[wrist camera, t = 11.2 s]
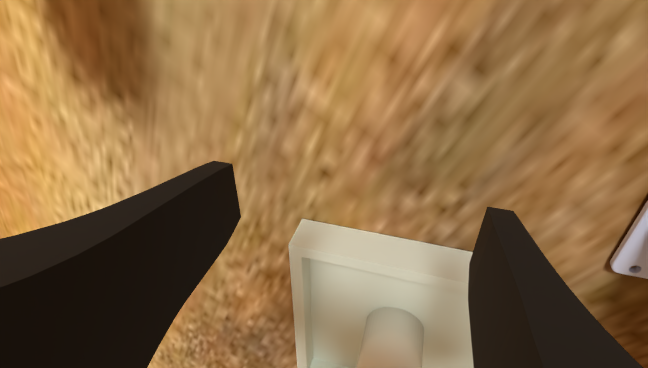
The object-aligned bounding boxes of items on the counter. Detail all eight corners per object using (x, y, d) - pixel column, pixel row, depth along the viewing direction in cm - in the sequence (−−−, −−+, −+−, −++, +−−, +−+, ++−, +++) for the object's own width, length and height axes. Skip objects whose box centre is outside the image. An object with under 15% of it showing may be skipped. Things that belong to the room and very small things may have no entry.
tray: (536, 264, 21) (544, 299, 19) (475, 396, 30) (476, 430, 28) (302, 218, 24) (288, 244, 22) (307, 349, 33) (298, 376, 31)
